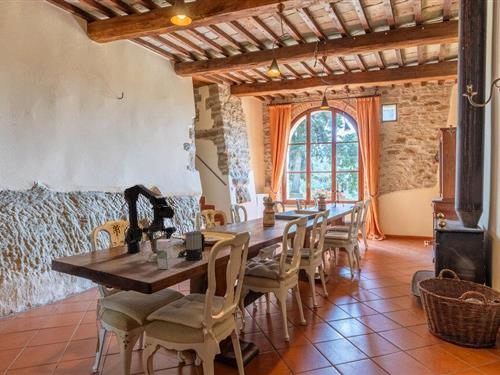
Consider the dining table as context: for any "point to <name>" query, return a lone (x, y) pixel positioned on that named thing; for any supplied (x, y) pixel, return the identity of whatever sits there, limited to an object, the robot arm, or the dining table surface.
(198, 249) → the milk frother
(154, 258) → the pale block
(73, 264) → the dining table surface
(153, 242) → the tin
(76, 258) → the dining table surface
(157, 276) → the dining table surface
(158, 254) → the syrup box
